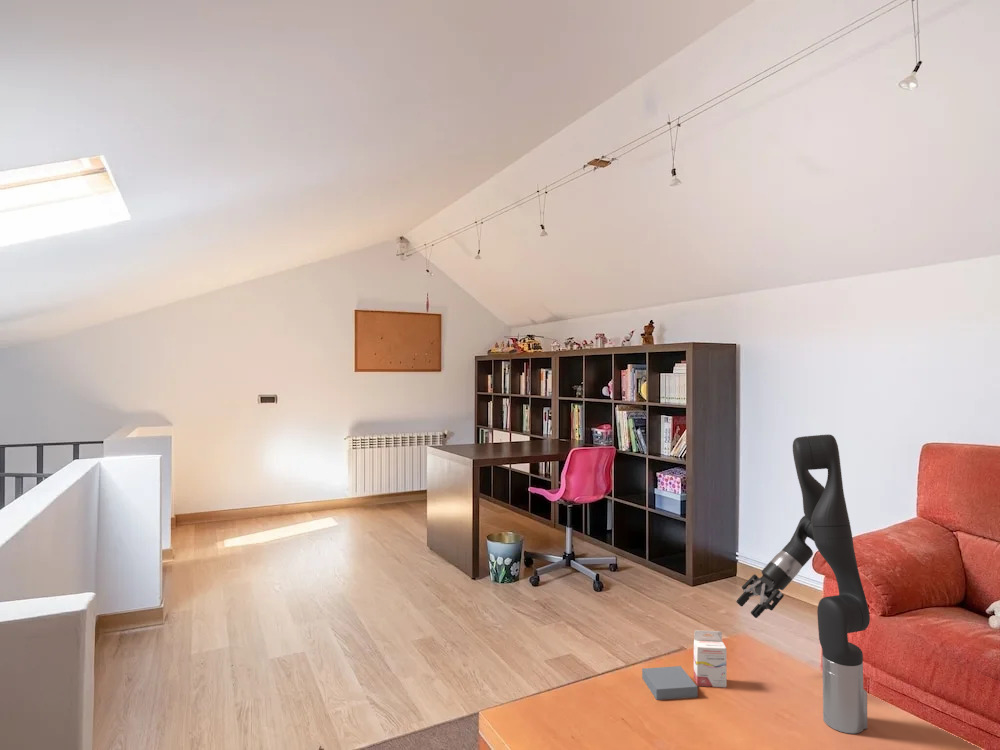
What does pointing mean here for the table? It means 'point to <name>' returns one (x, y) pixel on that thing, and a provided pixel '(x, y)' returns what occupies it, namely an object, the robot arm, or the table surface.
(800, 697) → the table surface
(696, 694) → the slate plate
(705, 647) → the ink cartridge box
